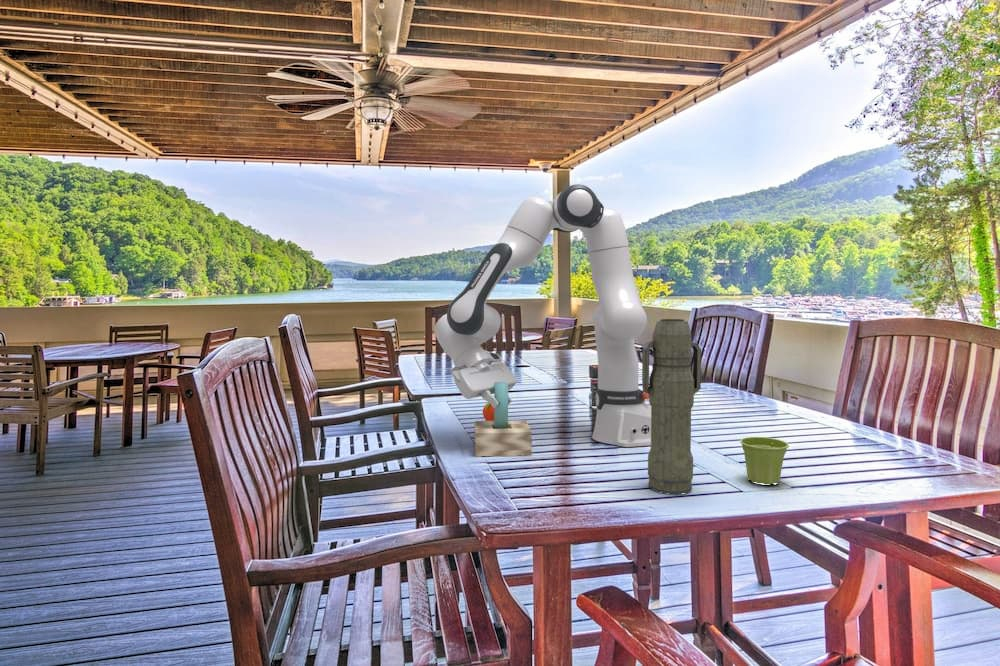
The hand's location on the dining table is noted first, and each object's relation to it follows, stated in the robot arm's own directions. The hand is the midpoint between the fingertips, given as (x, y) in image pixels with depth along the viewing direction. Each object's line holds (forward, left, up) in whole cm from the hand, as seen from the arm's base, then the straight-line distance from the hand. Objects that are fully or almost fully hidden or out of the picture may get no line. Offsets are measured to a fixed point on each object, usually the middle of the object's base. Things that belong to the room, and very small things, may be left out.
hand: (503, 404), depth 147 cm
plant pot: (-54, +31, -12) cm, 63 cm away
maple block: (0, 0, -12) cm, 12 cm away
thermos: (-33, +33, -12) cm, 48 cm away
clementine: (+1, -31, -12) cm, 34 cm away
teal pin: (+1, 0, -6) cm, 6 cm away
